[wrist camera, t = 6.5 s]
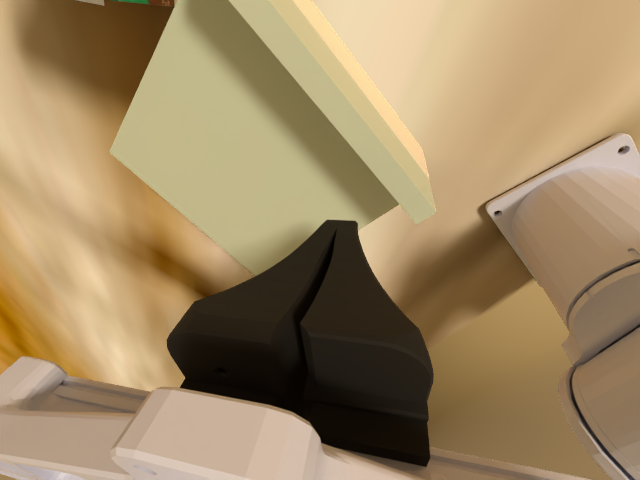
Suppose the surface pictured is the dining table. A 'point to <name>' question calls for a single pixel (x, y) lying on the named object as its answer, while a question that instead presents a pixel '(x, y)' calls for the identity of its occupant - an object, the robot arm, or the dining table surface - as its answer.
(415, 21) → the dining table surface
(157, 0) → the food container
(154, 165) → the lid
